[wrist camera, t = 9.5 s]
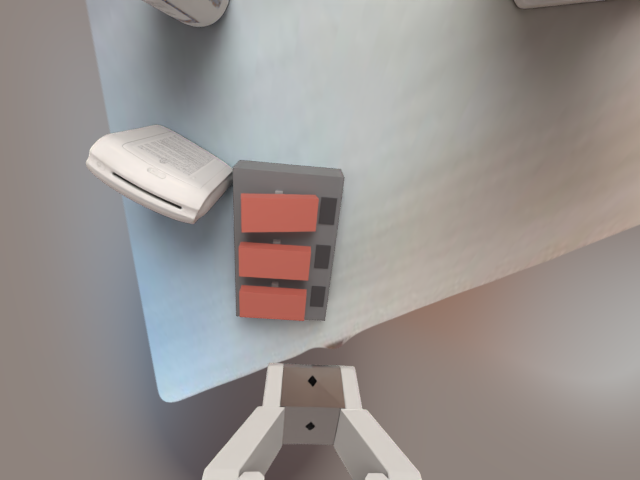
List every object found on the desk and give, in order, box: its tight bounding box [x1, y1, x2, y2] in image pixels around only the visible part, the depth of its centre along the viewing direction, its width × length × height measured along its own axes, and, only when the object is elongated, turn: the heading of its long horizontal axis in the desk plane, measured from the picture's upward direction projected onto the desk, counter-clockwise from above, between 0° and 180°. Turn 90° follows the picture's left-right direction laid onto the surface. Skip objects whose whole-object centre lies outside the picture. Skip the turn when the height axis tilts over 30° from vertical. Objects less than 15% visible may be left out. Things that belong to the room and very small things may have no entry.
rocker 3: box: [239, 285, 307, 321], centre depth 38 cm, size 8×4×1 cm, turn 84°
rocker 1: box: [241, 193, 319, 232], centre depth 32 cm, size 8×4×1 cm, turn 85°
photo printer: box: [86, 125, 233, 224], centre depth 30 cm, size 10×4×12 cm, turn 57°
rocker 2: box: [239, 242, 311, 281], centre depth 35 cm, size 8×4×1 cm, turn 84°
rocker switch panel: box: [233, 160, 344, 321], centre depth 38 cm, size 12×20×5 cm, turn 174°
